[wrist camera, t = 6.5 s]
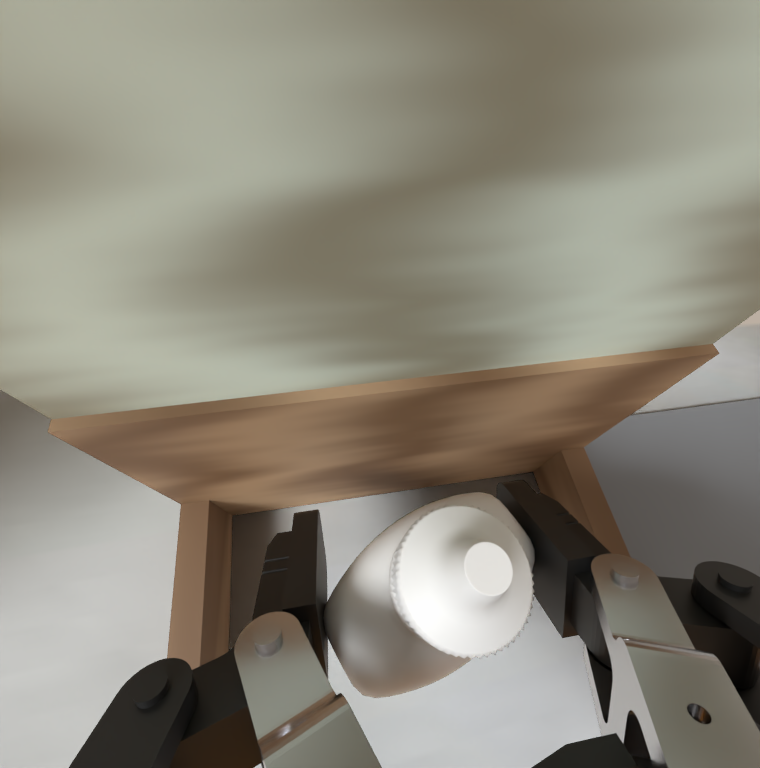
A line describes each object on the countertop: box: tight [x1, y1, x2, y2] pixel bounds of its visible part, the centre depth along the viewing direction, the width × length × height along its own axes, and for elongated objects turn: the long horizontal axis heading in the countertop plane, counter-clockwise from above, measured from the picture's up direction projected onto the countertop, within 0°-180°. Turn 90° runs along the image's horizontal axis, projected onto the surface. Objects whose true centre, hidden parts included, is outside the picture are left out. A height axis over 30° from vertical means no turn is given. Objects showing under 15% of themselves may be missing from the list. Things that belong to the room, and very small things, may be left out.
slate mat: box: [584, 398, 760, 579], centre depth 18 cm, size 13×12×1 cm
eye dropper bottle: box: [323, 492, 535, 698], centre depth 11 cm, size 4×6×12 cm
